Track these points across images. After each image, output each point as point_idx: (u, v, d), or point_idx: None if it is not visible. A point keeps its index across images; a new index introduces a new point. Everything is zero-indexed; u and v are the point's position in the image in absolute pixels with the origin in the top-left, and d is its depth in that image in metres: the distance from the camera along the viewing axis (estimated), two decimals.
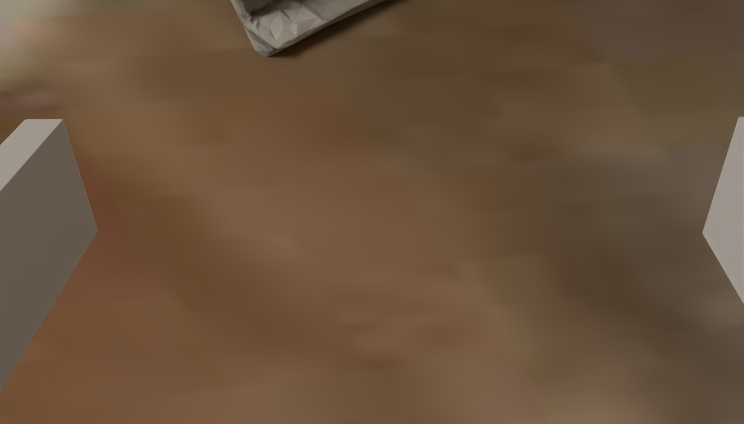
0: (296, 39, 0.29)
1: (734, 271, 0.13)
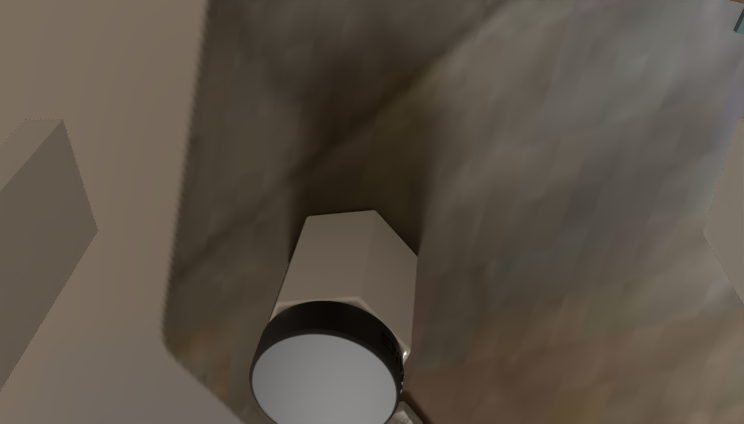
0: None
1: (734, 271, 0.13)
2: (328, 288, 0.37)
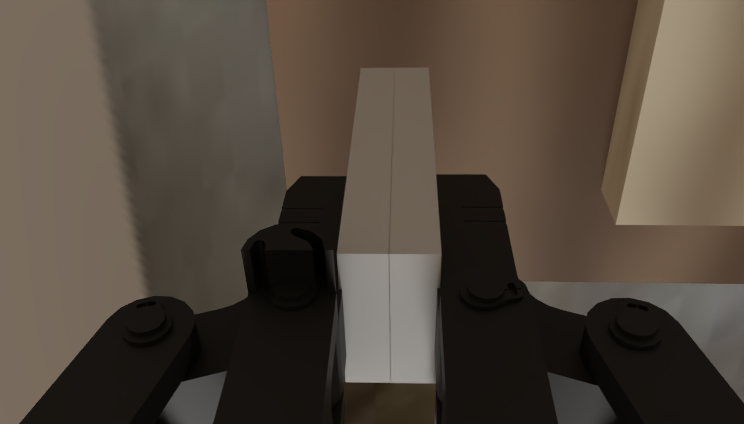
0: None
1: None
2: None
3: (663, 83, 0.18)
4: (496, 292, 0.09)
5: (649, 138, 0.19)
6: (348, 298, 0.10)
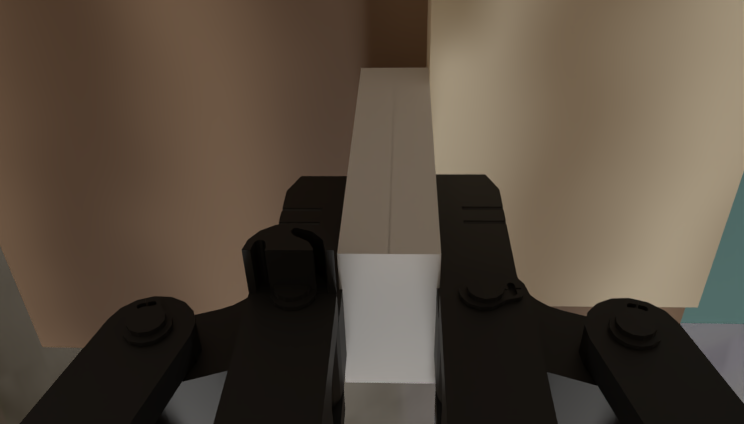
0: None
1: None
2: None
3: (447, 149, 0.15)
4: (496, 292, 0.09)
5: None
6: (348, 298, 0.10)
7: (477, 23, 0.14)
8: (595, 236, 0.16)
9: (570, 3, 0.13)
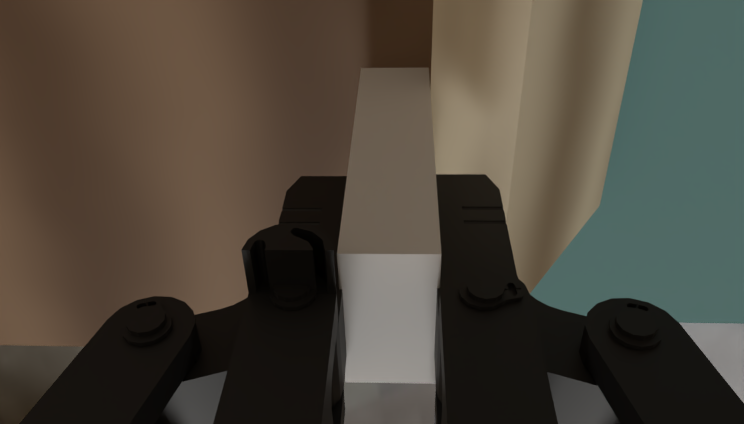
0: None
1: None
2: None
3: (521, 168, 0.14)
4: (496, 292, 0.09)
5: (512, 233, 0.15)
6: (348, 298, 0.10)
7: (548, 28, 0.13)
8: (572, 187, 0.18)
9: None
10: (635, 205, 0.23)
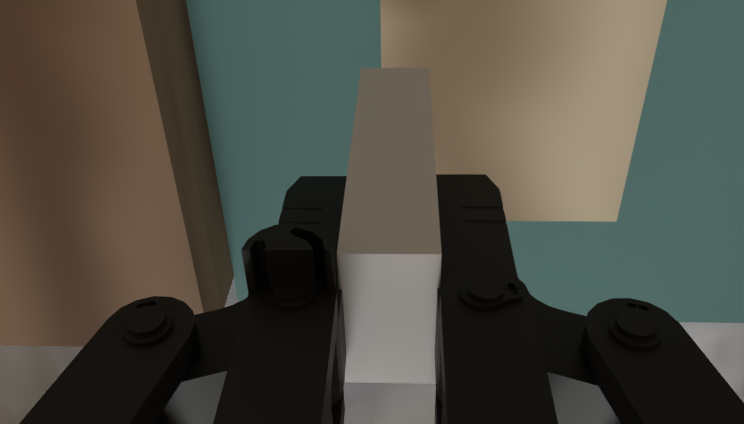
0: None
1: None
2: None
3: None
4: (496, 292, 0.09)
5: None
6: (348, 298, 0.10)
7: None
8: None
9: None
10: None
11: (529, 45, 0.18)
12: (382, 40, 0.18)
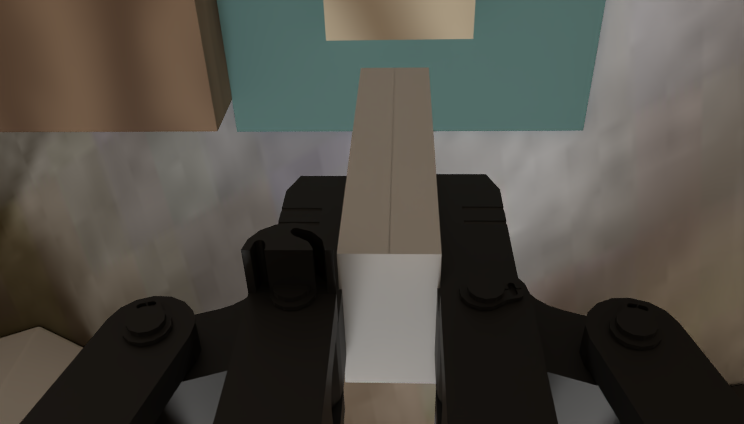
0: None
1: None
2: None
3: None
4: (496, 292, 0.09)
5: None
6: (348, 298, 0.10)
7: None
8: None
9: None
10: None
11: None
12: None
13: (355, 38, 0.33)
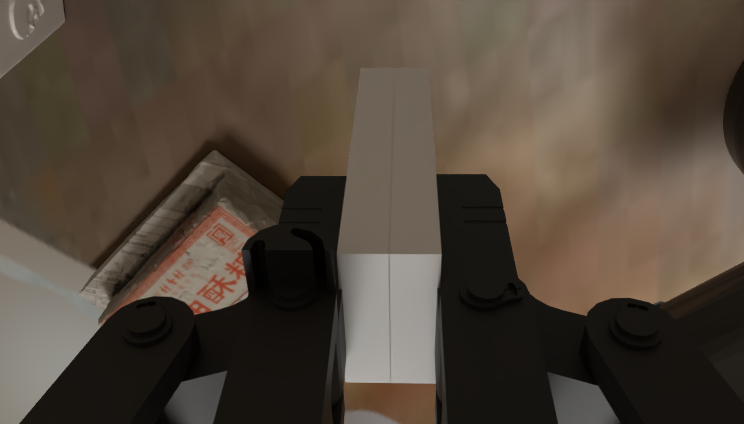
0: (195, 169, 0.47)
1: None
2: None
3: None
4: (496, 292, 0.09)
5: None
6: (348, 298, 0.10)
7: None
8: None
9: None
10: None
11: None
12: None
13: None
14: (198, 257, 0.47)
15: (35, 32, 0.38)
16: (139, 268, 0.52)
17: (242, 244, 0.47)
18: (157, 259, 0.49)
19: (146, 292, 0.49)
